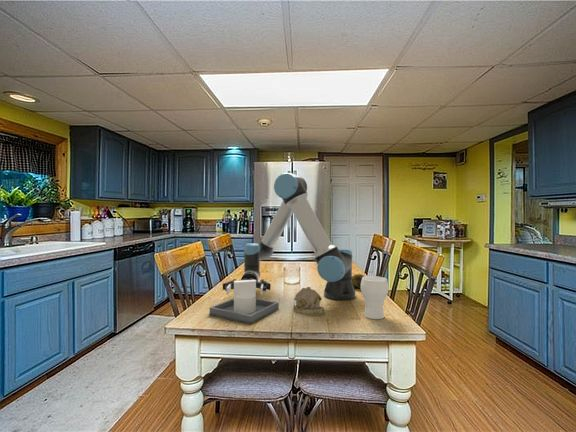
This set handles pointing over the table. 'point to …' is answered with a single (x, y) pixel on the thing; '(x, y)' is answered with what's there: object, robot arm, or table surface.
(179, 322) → the table surface
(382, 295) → the cup
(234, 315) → the box
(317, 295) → the ceramic model
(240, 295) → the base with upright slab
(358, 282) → the potato
